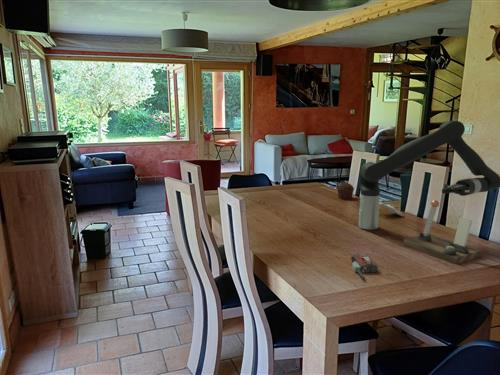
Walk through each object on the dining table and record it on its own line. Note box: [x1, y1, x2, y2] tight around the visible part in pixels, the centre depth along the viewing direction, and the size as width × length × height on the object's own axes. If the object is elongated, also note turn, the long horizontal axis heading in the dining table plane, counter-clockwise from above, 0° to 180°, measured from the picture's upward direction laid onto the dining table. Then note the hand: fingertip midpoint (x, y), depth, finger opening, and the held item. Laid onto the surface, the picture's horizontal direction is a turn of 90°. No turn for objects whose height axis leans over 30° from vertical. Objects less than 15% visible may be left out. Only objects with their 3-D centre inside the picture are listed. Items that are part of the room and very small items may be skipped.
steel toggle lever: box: [422, 199, 440, 237], centre depth 174 cm, size 3×3×17 cm
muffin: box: [336, 182, 355, 200], centre depth 266 cm, size 12×11×10 cm
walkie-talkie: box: [350, 253, 378, 280], centre depth 149 cm, size 9×4×20 cm
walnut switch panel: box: [403, 232, 482, 265], centre depth 167 cm, size 16×25×5 cm, turn 28°
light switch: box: [379, 200, 405, 218], centre depth 223 cm, size 8×6×14 cm
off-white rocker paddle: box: [453, 217, 473, 249], centre depth 160 cm, size 1×4×12 cm, turn 28°
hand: (443, 191), depth 175 cm, fingers closed
